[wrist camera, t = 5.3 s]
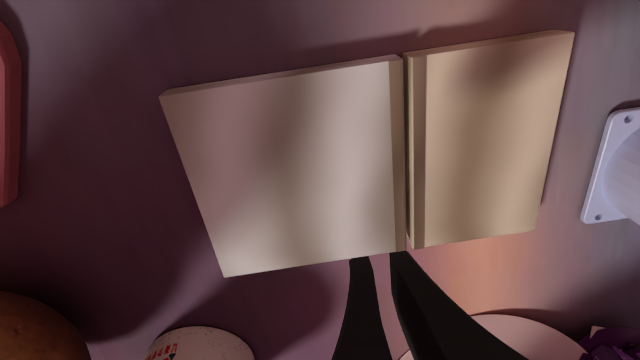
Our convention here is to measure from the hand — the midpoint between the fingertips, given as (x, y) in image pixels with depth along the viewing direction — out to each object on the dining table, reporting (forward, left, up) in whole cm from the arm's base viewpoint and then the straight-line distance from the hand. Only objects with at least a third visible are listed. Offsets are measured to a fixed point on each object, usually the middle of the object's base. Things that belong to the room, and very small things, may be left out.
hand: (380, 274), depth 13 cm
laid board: (-7, 0, -9) cm, 12 cm away
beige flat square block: (+3, 0, -9) cm, 10 cm away
